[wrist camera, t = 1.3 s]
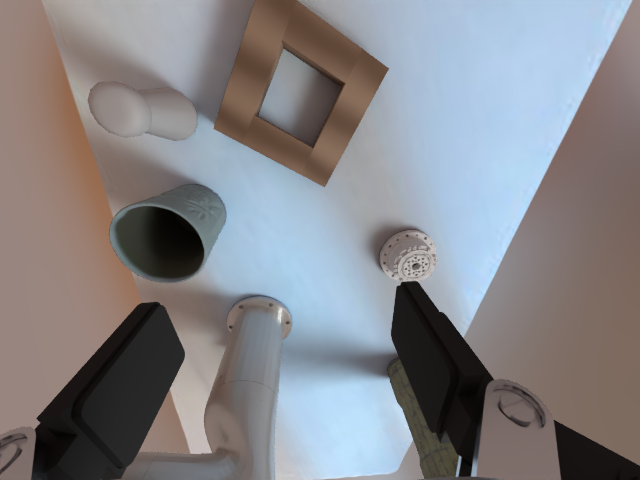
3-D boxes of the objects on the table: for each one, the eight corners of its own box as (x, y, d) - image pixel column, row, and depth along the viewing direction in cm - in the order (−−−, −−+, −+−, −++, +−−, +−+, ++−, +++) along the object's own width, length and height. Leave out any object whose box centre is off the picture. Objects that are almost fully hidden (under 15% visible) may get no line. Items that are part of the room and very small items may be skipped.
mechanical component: (431, 223, 41) (376, 236, 42) (445, 233, 37) (384, 247, 38) (432, 269, 46) (381, 281, 46) (445, 283, 42) (389, 295, 42)
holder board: (322, 182, 37) (324, 187, 34) (220, 128, 32) (213, 128, 30) (381, 73, 31) (388, 68, 28) (266, -10, 27) (262, -25, 24)
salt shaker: (166, 141, 33) (91, 149, 21) (150, 92, 30) (54, 71, 18) (209, 137, 33) (158, 143, 21) (196, 88, 30) (130, 64, 19)
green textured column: (384, 384, 60) (477, 673, 28) (389, 352, 54) (510, 660, 23) (418, 381, 60) (547, 661, 29) (426, 349, 55) (594, 646, 24)
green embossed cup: (183, 165, 34) (129, 183, 23) (245, 206, 37) (223, 238, 26) (154, 218, 37) (94, 256, 26) (214, 251, 40) (182, 297, 30)
